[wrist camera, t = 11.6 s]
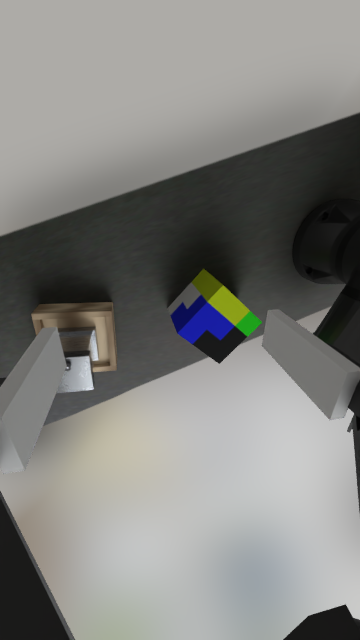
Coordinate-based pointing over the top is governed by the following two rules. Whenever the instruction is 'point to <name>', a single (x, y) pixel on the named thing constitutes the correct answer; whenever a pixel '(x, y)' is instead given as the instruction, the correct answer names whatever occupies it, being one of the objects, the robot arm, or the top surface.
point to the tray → (83, 317)
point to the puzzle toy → (211, 317)
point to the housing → (78, 358)
